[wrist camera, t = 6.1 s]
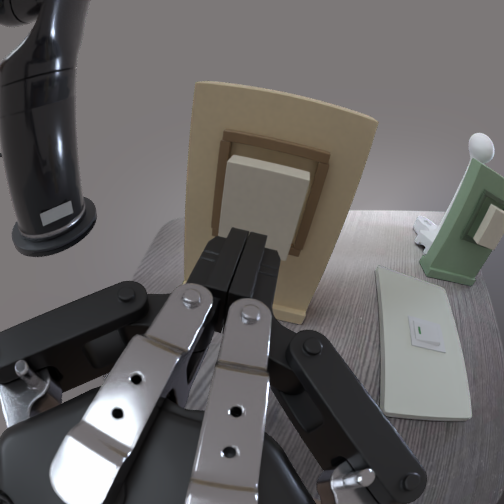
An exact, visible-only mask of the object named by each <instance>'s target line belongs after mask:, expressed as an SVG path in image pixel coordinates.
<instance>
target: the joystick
mask: <svg viewBox="0 0 504 504" xmlns="http://www.w3.org/2000/svg"><path fill="white" fill-rule="evenodd" d="M468 147H469V152H470V162H469V165H470V163H471V160H472V158H474V159H476V160H478V161H479V162H481V163H483V164H485V163H488V162H489V161H490V160H492V158H493V156H494V145H493V143H492V141H491V139H490V138H489V137H488V136H487V135H485V134H483V133H476V134H474V135H472V136H471V138H470V139H469V143H468ZM469 165H468V167H467V169H466V172H465V174H464V176H463V178H462V181H461V183H460V185H459V187H458V189H457V191H456V193H455V195H454V197H453V199H452V201H451V203H450V206H449V207H448V209H447V211H446V213H445V215H444V216H443V218H442V220H441V222H440V224H439V226H437V225H436V224H434V223H433V222H432V221H431V220H429V219H428V218H426V217H423V216H418V217H417V219H416V221H415V223H414V226H413V227H414V230H415V232H416V233H417V234H418V235H417V237H416V238H415V242H416V243H417V244H420V245H424V246H425V247H426V248H425V249H424V251H423V253H425V254H427V252H428V250H429V249H430V247H431V245H432V243H433V241H434V240H435V238H436V236H437V234H438V232H439V230H440V229H441V227H442V225H443V223H444V221H445V219H446V217H447V215H448V213H449V211H450V209H451V207H452V205H453V202H454V200H455V198H456V196H457V194H458V192H459V189H460V187H461V185H462V182H463V180H464V178H465V175H466V173H467V170H468V168H469Z"/></svg>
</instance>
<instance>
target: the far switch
mask: <svg viewBox="0 0 504 504" xmlns="http://www.w3.org/2000/svg"><path fill="white" fill-rule="evenodd" d="M503 234H504V211H503V210H501V209H499V208H498V207H496V206H494V205H492V204H491V205H490V207H489V209H488V211H487V213H486V215H485V217H484V219H483V221H482V223H481V225H480V226H479V228H478V230H477V232H476V234H475V236H474V237H473V239H474V240H475V242H476V243H477V244H479V245H481V246H484V247H487V248H489V249H492V250H495V248H496V246H497V245H498V243H499V241H500V239H501V238H502V236H503Z"/></svg>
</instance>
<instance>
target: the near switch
mask: <svg viewBox="0 0 504 504" xmlns="http://www.w3.org/2000/svg"><path fill="white" fill-rule="evenodd" d="M309 182H310V172H308V171H304V170H300V169H296V168H292V167H288V166H284V165H279V164H275V163H271V162H266V161H262V160H257V159H253V158H248V157H243V156H238V155H233V156H232V157H231V158H230V159H229V160H228V161H227V166H226V174H225V182H224V190H223V198H222V206H221V215H220V223H219V233H218V236H220V237H224V238H227V236H228V234H229V232H230V230H231V228H232V227H234V228H238V229H243V230H247V231H249V234H250V232H255V233H259V234H263V235H267V241H266V245H265V248H269V249H273V250H277V251H278V254H279V256H280V259H281V260H283V261H286V260H287V256H288V253H289V250H290V247H291V243H292V240H293V237H294V234H295V230H296V227H297V224H298V220H299V217H300V213H301V210H302V207H303V203H304V200H305V196H306V193H307V189H308V186H309Z"/></svg>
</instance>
